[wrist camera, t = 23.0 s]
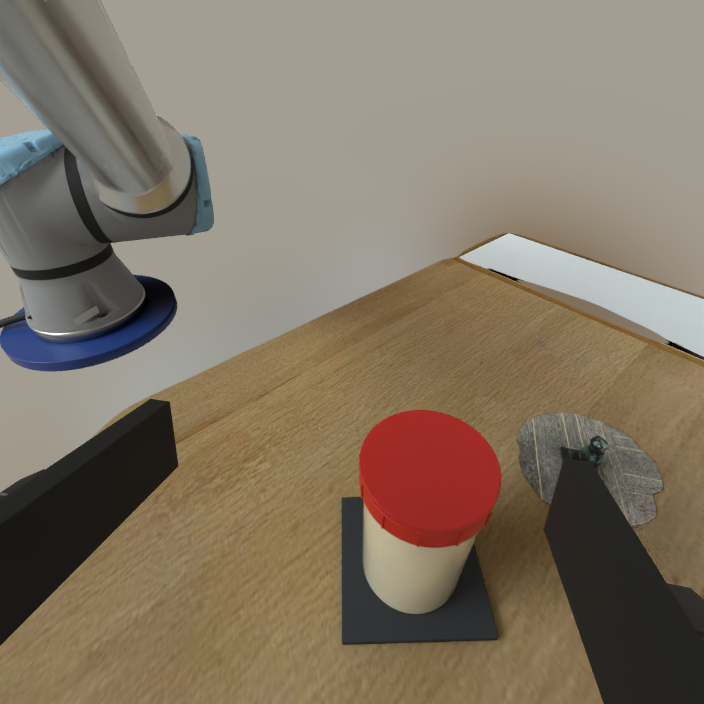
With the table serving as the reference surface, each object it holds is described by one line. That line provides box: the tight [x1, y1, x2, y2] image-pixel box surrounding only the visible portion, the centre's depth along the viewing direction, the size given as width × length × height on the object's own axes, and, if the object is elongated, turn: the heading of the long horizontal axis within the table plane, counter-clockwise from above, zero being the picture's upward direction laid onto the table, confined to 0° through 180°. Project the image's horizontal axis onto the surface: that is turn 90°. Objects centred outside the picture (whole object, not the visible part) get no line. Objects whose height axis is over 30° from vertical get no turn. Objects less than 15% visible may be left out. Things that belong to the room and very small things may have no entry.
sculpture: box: [517, 413, 663, 527], centre depth 35 cm, size 12×9×8 cm
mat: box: [342, 497, 498, 645], centre depth 29 cm, size 10×10×1 cm
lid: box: [359, 410, 501, 548], centre depth 22 cm, size 8×8×2 cm
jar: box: [363, 501, 477, 614], centre depth 25 cm, size 7×7×12 cm
